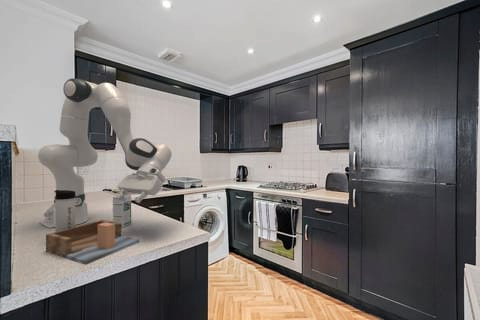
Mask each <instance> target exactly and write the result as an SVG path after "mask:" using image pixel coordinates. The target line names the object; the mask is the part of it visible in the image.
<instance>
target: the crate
mask: <svg viewBox="0 0 480 320" xmlns="http://www.w3.org/2000/svg"><path fill="white" fill-rule="evenodd" d="M105 222H107V223H112V224H115V246H114V247H111V248H109V249H104V248H100V247H97V239H98V224H101V223H105ZM122 228H123V227H122V223H116V222H113V221H109V220H104V219H100V220H97V221H93V222H90V223H89V222H88V223H86V224H85V223H84V224H81V225H78V226H75V227H73V228H69V229H65V230H61V231H58V232H55V231H53V232H51V233H50V232H49V233H46V234H45V253H49V254H51V255H52V254H53V255H55V256H58V257H62V258H65V259H67V260H71V261H74V262H78V263H80V264H82V265H83V264H84V265H88V264H90V263H92V262H95V261H97V260H99V259H102V258H105V257H107V256H110V255H111V254H114V253H117V252H118V251H121V250H124V249H126V248H129V247H132V246H133V245H136V244H138V243H140V239H139V238H134V237H128V236H125V235H122V232H123V231H122Z"/></svg>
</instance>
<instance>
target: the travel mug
mask: <svg viewBox="0 0 480 320" xmlns="http://www.w3.org/2000/svg"><path fill="white" fill-rule="evenodd" d="M53 192H54V193H55V196H56V199H55V200H56V201H55V227H54V228H55V229H54V230H55V231H54V232H58V231H61V230H65V229H69V228H73V227H76V225H75V207H76V200H75V198H76V197H75V191H69V190H56V189H55V190H53Z"/></svg>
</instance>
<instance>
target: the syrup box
mask: <svg viewBox="0 0 480 320" xmlns="http://www.w3.org/2000/svg"><path fill="white" fill-rule="evenodd" d="M119 196H120V195H116V196H112V222H116V223H122V228H125V227H127V226H130V225H131V224H132V195H131V194H125V196H124V197H125V199H124V200H123V201H121V200H119V199H118V197H119Z"/></svg>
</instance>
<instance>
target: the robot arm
mask: <svg viewBox="0 0 480 320" xmlns="http://www.w3.org/2000/svg"><path fill="white" fill-rule="evenodd" d="M63 94H64V96H65V100H64V102H63V104H62V109H61V114H60V119H59V120H60V121H59V122H60V123H59V132H60V133H61V135H62V136H64V137H66V138H67V139H68V142H69V144H48V145H43V147H41V148H40V150H39V151H38V153H37V154H38V155H37V158H38V160H39V162H40V164H41V165H43V166H44V167H46V168H47V169H48V170H50V172H51V173H52V176H53V177H54V179H55V181H54V182H55V190H69V191H75V197H76V198H75V200H76V207H75V226H76V225H80V224H81V225H82V224H83V223H84V224H85V223H86V222H88V221H89V220H90V219H91V216H90V215H89V212H88V211H89V210H88V204H87V202H86V194H85V180H84V178H83V176H81V175H79V174H77V173H76V172H75V169H74V168H81V167H84V168H85V167H88V166H92V165H95V163H97V160H98V159H99V158H98V157H99V156H98V151H97V150H96V149H95V148H94V147H93V146H92V145H91V143H90V141H89V136H88V133H89V132H88V129H89V120H90V112H91V110H92V109H93V108H94V109H95V110H96V111H97V110H102V112H103V114H104V116H105V118H106V119H107V121H108V122H109V124H110V126H111V128H112V129H113V132H114V133H115V136H116V137H117V140H118V141H119V142H118V143H119V144H120V146H121V148H122V149H123V152H124V155H125V156H124V161H125V164H126V166H127V167H128V168H129V169H131V170H133V171H136V172H134V173H131V174H127V175H126V176H125V177H124V178H123V179H122V180H121V181H120V182H119V183H118V185H117V189H118V190H119V191H120V192H119V193H120V194H119V195H118V196H119V197H118V199H119V200H121V201H123V200H124V199H125V197H124V196H125V195H128V193H130V194H137V195H138V194H139V196H136V197H135V199H134V202H135V203H137V204H140V203H141V202H142V201H143V200H144V199H146V198H147V197H148V196H156V195H157V194H158V193H159V191H160V190H161V189H162V187H163V185H164V183H165V182H166V181H167V178H166V177H165V176H164V174H163V173H162V172H163V170H164V169H165V168H166V167H167V165H168V164H169V162H170V160H171V159H172V150H171V149H170V148H169V146H168V145H166V144H165V143H154V142H152V141H149V140H147V139H146V138H142V137H138V138H136V137H135V138H134V136H133V135H132V130H131V119H132V117H131V116H132V112H131V110H130V106H129V103H128V102H127V100H126V99H125V97H124V95H123V94H122V93H121V92H120V90H119V89H118V88H117V86H115V84H112V83H110V82H101V83H99V84H96V83H95V82H94V83H93V82H89V81H87V80H83V79H81V78H80V79H79V78H68V80H66V81H65V83H64V85H63ZM53 197H54V198H53V204H52V205H51V206H50V207H48V208H47V210H46V211H45V212H44V213H43V216H44V219H41V220H39V222H38V223H39V224H41V225H42V226H44V227H46V228H48V229H51V228H55V201H56V200H55V199H56V195H54V196H53Z"/></svg>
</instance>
